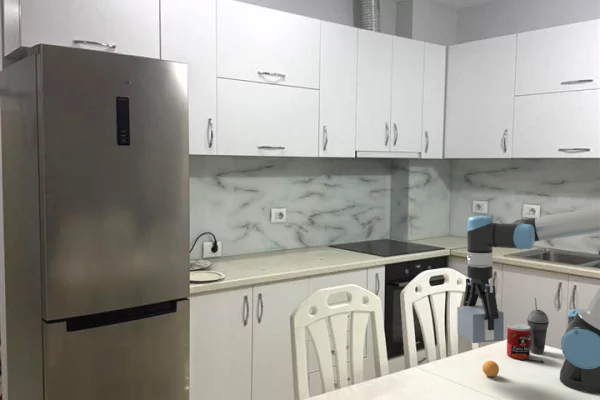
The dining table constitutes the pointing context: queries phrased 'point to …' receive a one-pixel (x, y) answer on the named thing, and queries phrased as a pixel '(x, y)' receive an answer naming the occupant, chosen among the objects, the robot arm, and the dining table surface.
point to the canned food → (518, 341)
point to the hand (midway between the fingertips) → (480, 334)
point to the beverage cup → (537, 330)
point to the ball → (490, 368)
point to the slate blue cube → (477, 324)
